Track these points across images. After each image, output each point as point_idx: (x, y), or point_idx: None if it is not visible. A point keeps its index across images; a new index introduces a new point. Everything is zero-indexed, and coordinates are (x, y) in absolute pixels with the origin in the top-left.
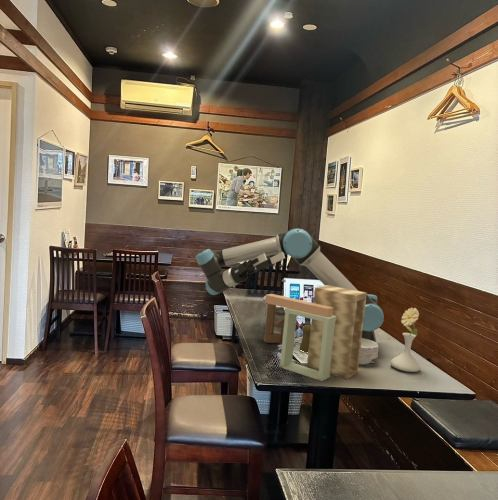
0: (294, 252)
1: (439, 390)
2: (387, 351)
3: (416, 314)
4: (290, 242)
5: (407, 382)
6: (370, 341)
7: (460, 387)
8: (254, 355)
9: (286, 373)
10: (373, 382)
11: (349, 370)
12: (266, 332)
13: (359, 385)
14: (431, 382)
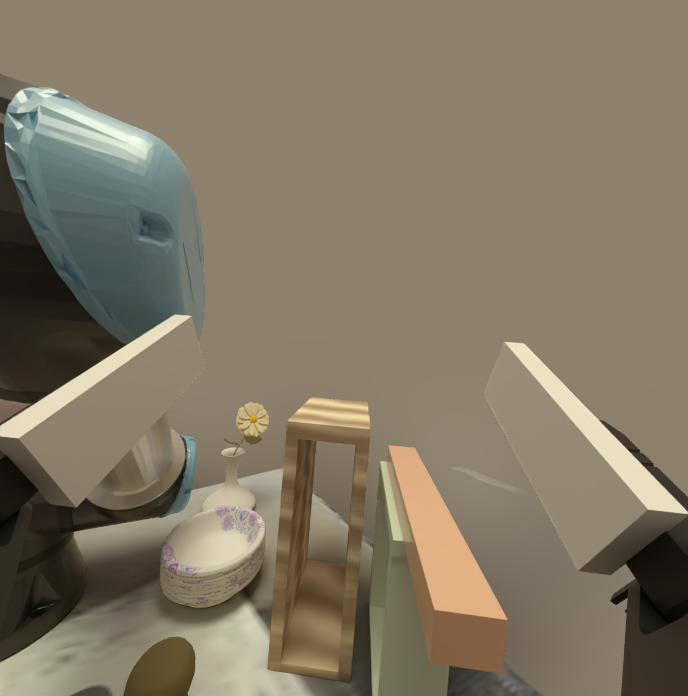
0: (192, 317)
1: None
2: (105, 543)
3: (261, 410)
4: (185, 238)
5: None
6: (191, 521)
7: (272, 472)
8: None
9: None
10: (331, 536)
11: (315, 569)
12: None
13: (363, 549)
14: (273, 489)
